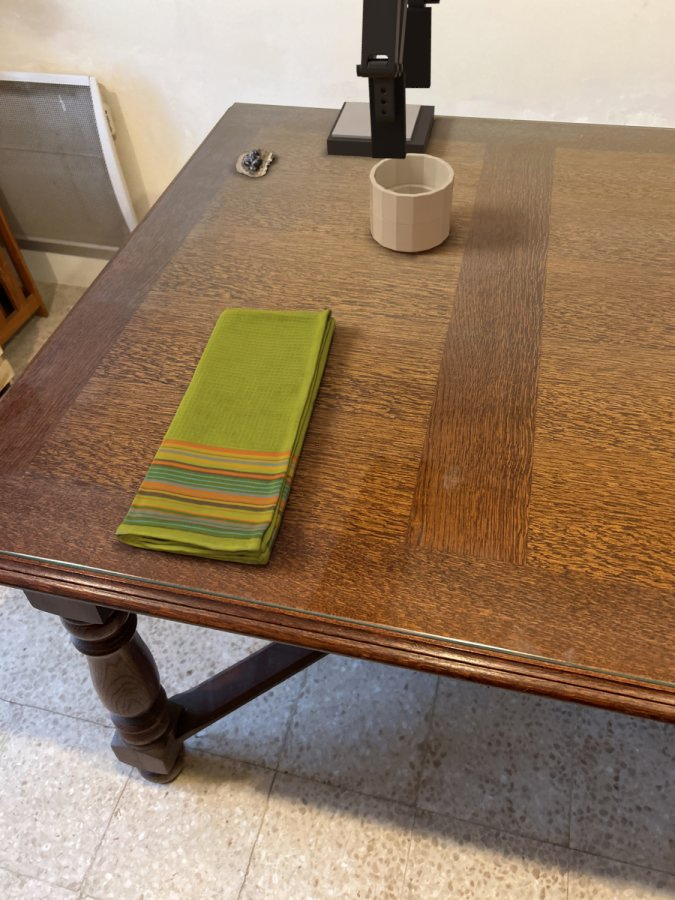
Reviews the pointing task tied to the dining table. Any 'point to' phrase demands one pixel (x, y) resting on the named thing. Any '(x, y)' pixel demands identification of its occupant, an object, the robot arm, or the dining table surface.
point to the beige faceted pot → (411, 202)
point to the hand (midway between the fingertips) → (403, 119)
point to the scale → (356, 129)
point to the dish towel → (234, 439)
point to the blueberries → (254, 162)
